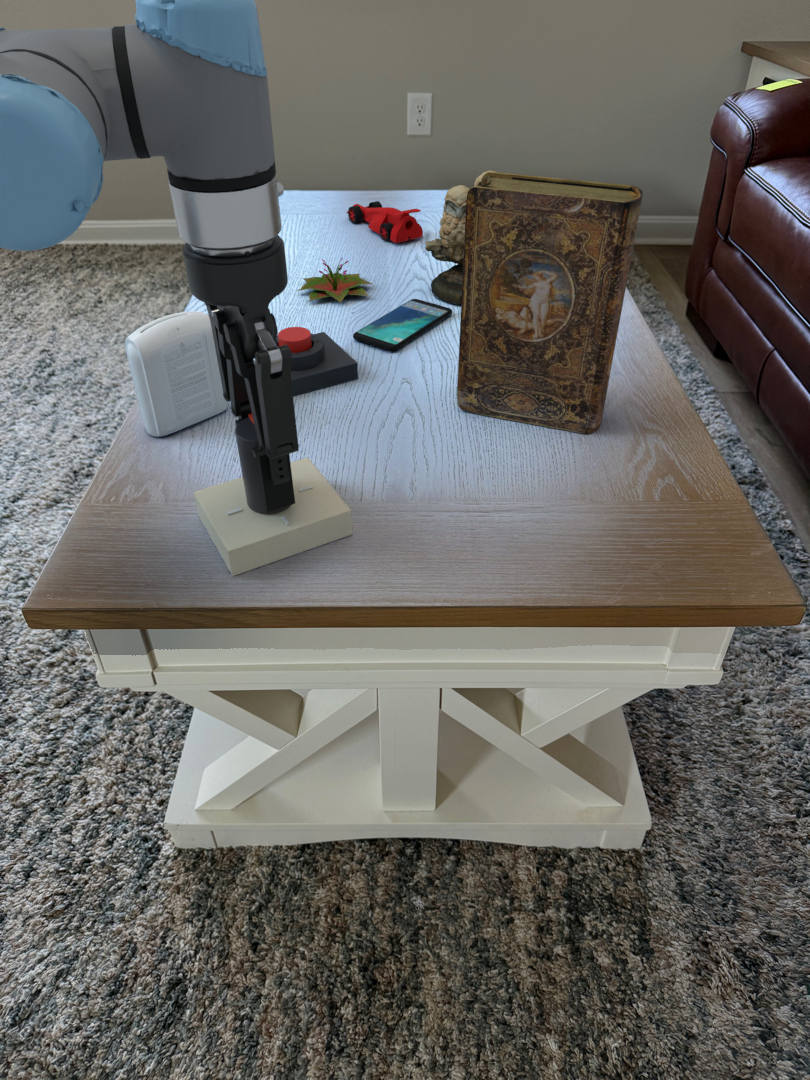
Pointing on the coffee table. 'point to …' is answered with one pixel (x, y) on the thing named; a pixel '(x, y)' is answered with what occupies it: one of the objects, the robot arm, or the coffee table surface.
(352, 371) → the power box
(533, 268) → the book
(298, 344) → the power button
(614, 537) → the coffee table surface
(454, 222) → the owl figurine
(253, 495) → the dial
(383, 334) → the smartphone
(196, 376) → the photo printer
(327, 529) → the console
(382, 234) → the toy car
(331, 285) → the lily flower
